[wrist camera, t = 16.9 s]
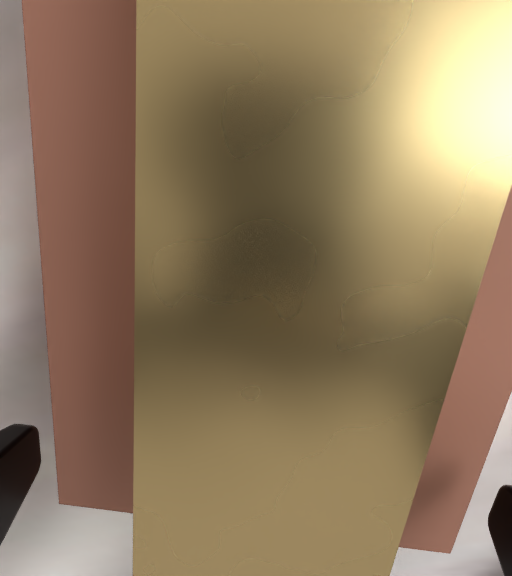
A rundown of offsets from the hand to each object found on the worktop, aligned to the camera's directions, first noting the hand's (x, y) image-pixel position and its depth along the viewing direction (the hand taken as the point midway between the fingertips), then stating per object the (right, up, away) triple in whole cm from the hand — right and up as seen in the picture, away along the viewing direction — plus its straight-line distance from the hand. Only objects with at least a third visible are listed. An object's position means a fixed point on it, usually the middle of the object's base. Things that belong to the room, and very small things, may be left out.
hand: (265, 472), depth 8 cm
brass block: (0, +4, +1) cm, 4 cm away
